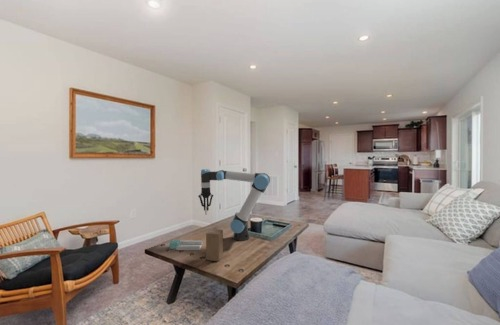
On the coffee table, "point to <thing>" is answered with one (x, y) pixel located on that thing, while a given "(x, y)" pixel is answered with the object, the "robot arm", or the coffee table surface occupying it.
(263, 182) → the robot arm
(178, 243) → the teal block
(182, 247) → the chute
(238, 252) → the coffee table surface
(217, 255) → the wooden block
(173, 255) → the coffee table surface
